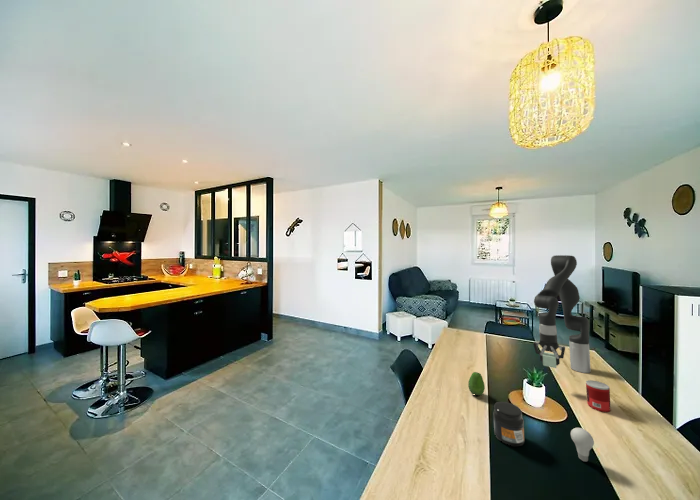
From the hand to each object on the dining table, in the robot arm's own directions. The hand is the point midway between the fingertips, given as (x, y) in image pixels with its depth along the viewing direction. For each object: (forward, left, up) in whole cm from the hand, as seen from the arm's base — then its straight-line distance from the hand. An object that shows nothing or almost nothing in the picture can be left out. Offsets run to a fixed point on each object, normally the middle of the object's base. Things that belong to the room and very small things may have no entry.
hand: (549, 363), depth 136 cm
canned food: (+7, +18, -14) cm, 24 cm away
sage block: (0, 0, -1) cm, 1 cm away
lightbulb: (+52, +12, -14) cm, 55 cm away
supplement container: (+56, -10, -14) cm, 59 cm away
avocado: (+31, -29, -14) cm, 45 cm away
